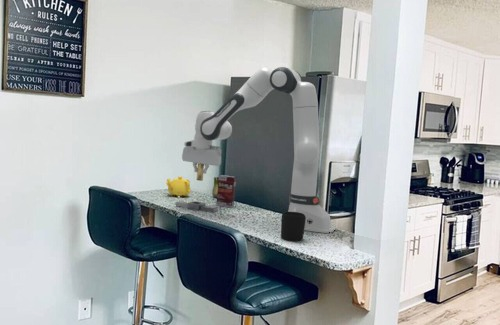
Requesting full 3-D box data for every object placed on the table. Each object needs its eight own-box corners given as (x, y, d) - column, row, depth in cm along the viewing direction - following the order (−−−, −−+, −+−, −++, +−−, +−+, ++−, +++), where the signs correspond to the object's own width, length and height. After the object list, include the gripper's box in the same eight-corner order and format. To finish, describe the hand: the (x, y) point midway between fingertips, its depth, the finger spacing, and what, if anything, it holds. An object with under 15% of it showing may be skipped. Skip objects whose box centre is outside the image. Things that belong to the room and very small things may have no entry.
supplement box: (215, 205, 256) (218, 175, 255) (218, 204, 261) (220, 174, 260) (231, 207, 254) (234, 177, 253) (234, 206, 259) (236, 176, 258)
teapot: (165, 193, 285) (167, 174, 284) (189, 194, 287) (191, 175, 286) (165, 197, 271) (166, 177, 270) (190, 198, 273) (191, 178, 272)
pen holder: (308, 240, 194) (310, 215, 194) (293, 243, 188) (296, 217, 187) (289, 235, 201) (292, 210, 200) (275, 237, 194) (277, 212, 193)
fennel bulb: (223, 197, 286) (225, 177, 285) (220, 198, 281) (221, 177, 280) (214, 196, 288) (215, 176, 287) (211, 197, 283) (212, 176, 282)
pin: (203, 180, 240) (205, 164, 240) (200, 180, 238) (202, 164, 237) (198, 179, 241) (199, 163, 241) (195, 179, 239) (196, 163, 238)
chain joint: (218, 211, 241) (219, 205, 241) (212, 213, 235) (212, 206, 235) (181, 205, 251) (181, 199, 250) (173, 206, 245) (174, 200, 245)
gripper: (224, 146, 237) (222, 175, 238) (188, 142, 245) (186, 169, 246) (218, 146, 231) (215, 176, 232) (181, 142, 239) (179, 170, 241)
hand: (200, 172), depth 239 cm, fingers closed on pin, 3 cm apart
